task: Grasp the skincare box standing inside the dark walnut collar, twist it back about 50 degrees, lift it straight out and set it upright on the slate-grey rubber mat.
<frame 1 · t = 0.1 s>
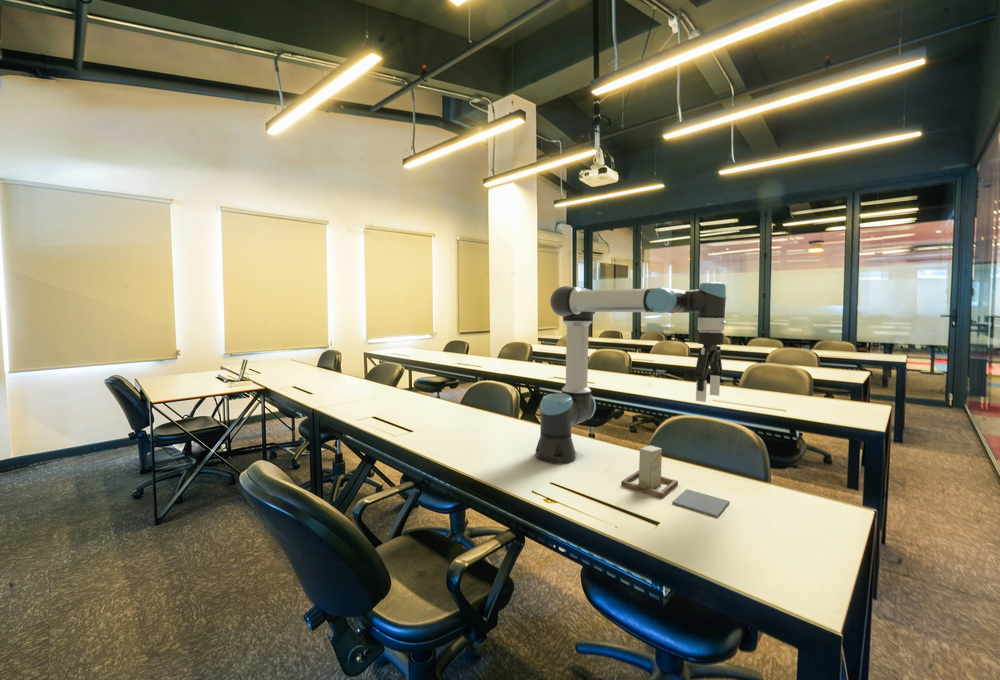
hand: (707, 398, 134), 28 cm above the table, fingers open, 13 cm apart
mat: (700, 503, 121), on the table
skincare box: (649, 486, 133), resting in collar
collar: (649, 485, 133), on the table
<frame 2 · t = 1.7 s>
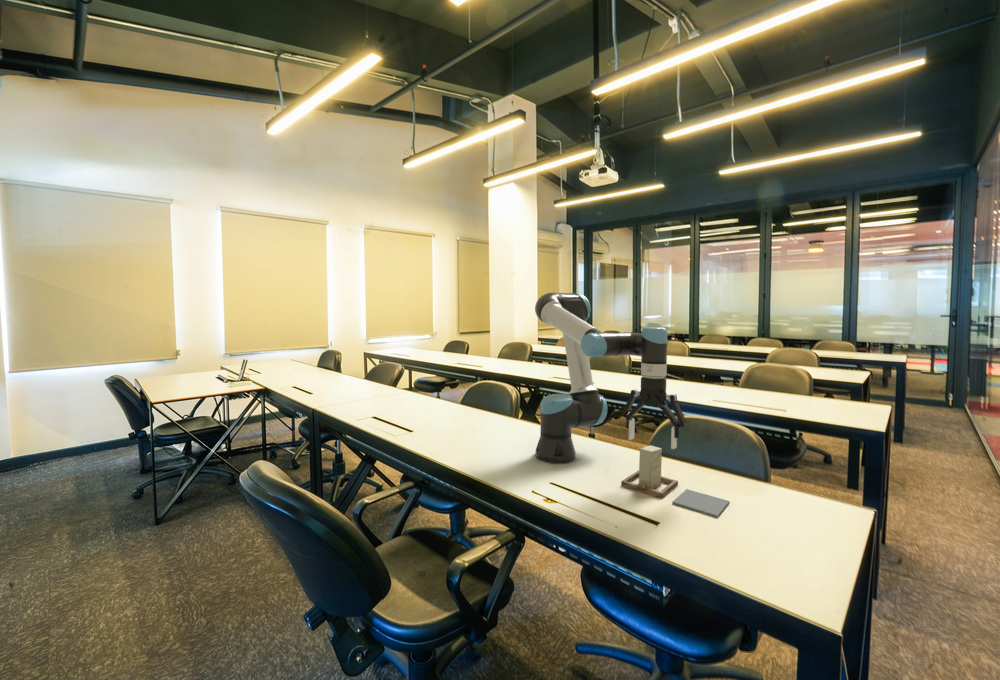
hand: (651, 443, 132), 14 cm above the table, fingers open, 13 cm apart
nothing on the table moved.
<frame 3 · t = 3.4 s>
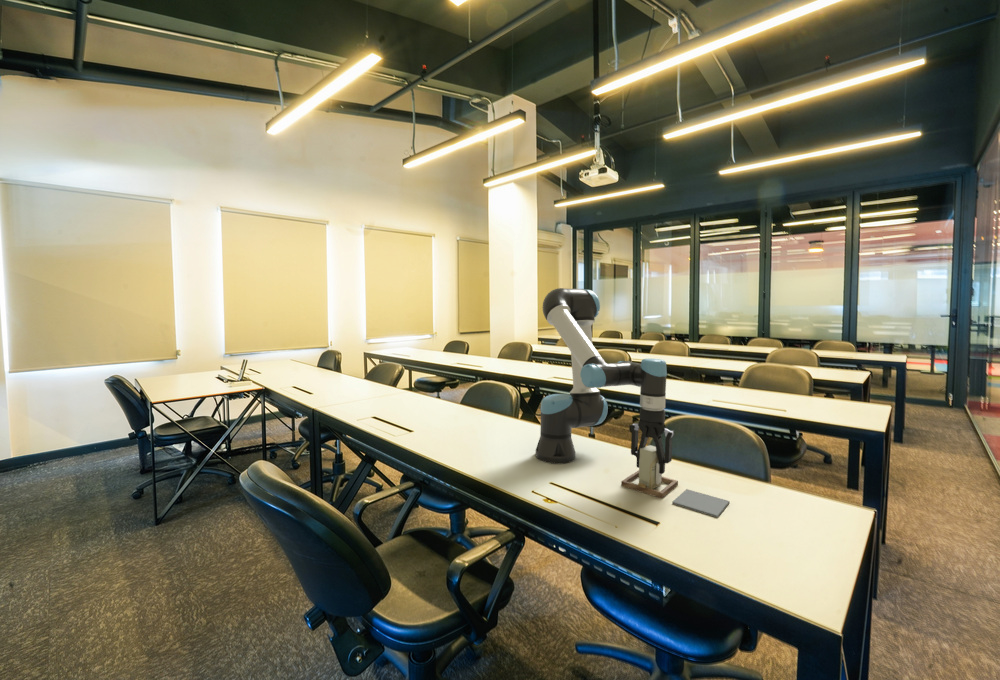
hand: (649, 480, 133), 2 cm above the table, fingers closed on skincare box, 5 cm apart
skincare box: (649, 486, 133), resting in collar, touching gripper
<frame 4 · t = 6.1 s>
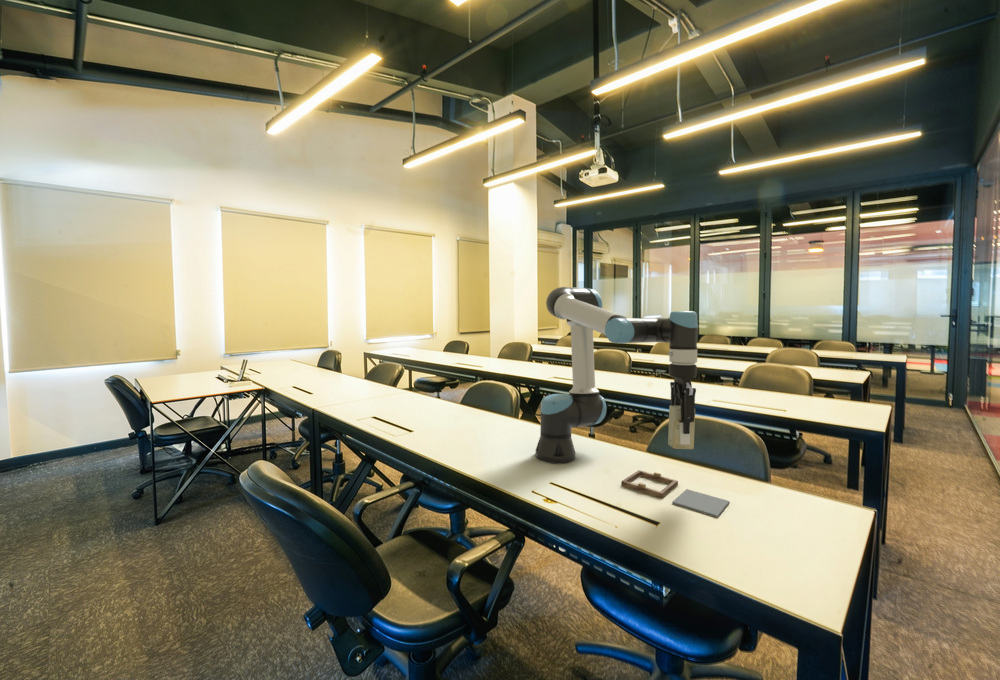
hand: (681, 441, 125), 17 cm above the table, fingers closed on skincare box, 4 cm apart
skincare box: (680, 447, 125), point 15 cm above the table, touching gripper
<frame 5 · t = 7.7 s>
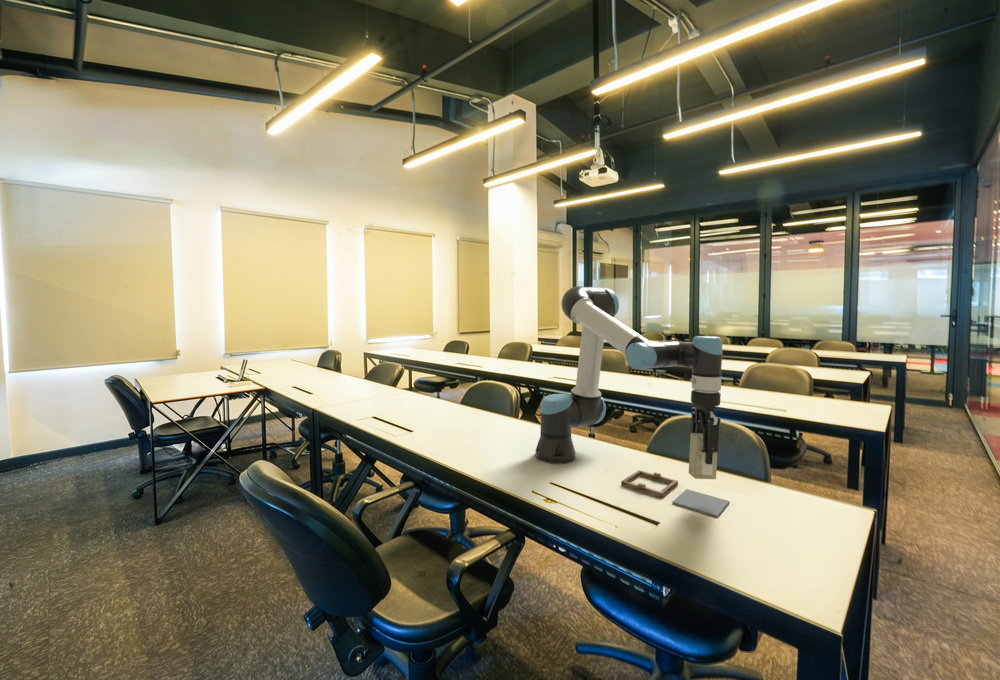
hand: (702, 470, 120), 10 cm above the table, fingers closed on skincare box, 4 cm apart
skincare box: (702, 476, 120), point 8 cm above the table, touching gripper
when the fingers open (3 cm above the table, at t = 9.0 s): skincare box drops 1 cm, resting on mat.
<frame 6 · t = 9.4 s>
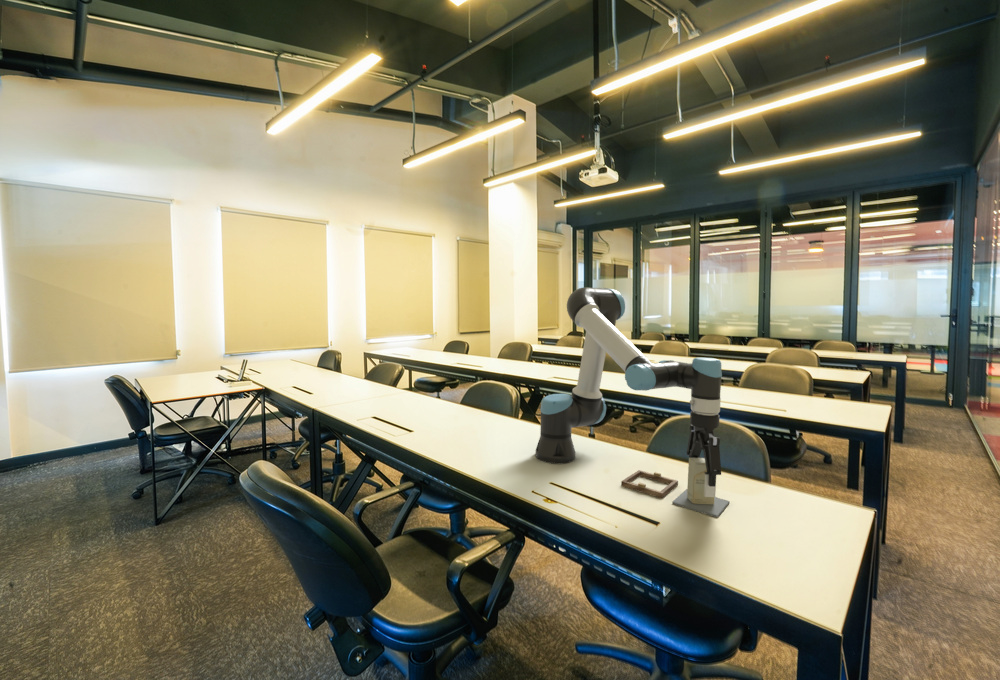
hand: (701, 488, 121), 4 cm above the table, fingers open, 9 cm apart
skincare box: (700, 501, 121), resting on mat
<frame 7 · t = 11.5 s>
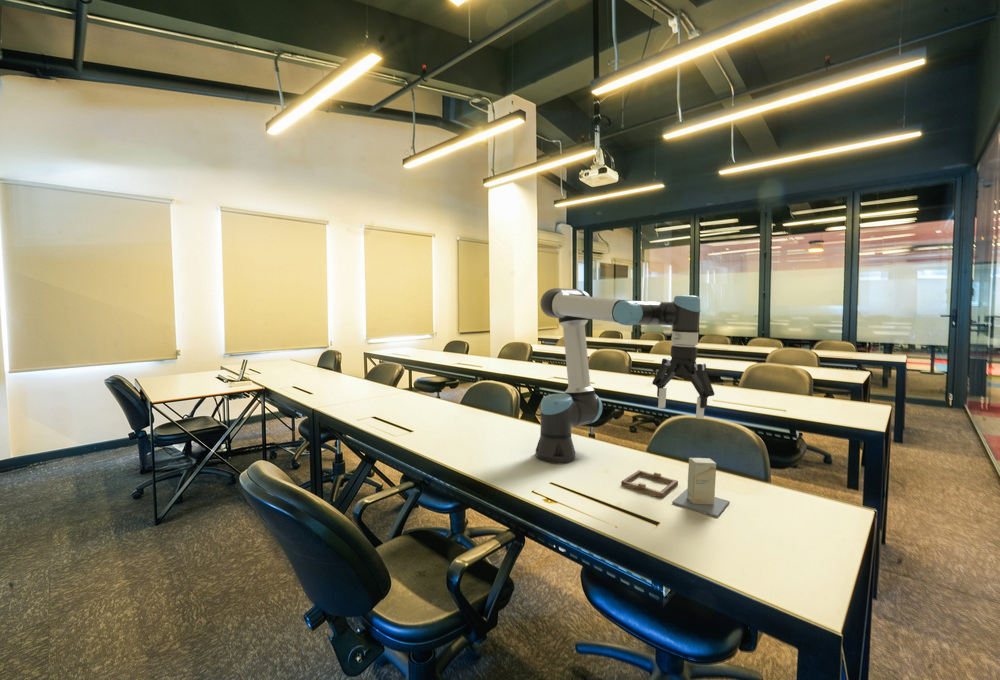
hand: (679, 412, 132), 24 cm above the table, fingers open, 13 cm apart
nothing on the table moved.
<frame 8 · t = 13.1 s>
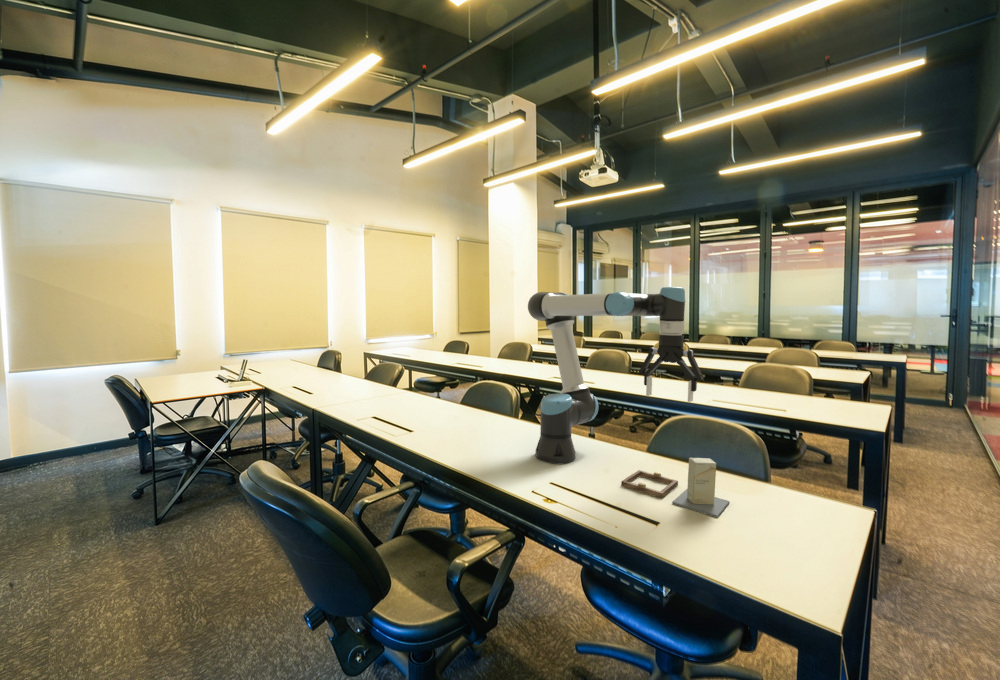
hand: (668, 398, 139), 27 cm above the table, fingers open, 13 cm apart
nothing on the table moved.
at the end: skincare box inside the target area on the mat (0.2 cm from its centre), point 0.4 cm above the mat's base; skincare box tilted 0°; the gripper is holding nothing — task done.
